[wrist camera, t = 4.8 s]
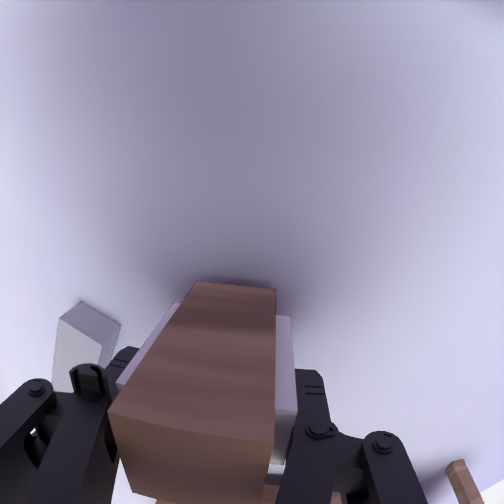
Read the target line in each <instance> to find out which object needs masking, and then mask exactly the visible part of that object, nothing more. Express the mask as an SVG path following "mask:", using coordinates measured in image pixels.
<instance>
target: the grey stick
mask: <svg viewBox="0 0 504 504" xmlns="http://www.w3.org/2000/svg"><path fill="white" fill-rule="evenodd" d="M120 327H121V325H120V324H118V323H117V322H115V321H113V320H111V319H110V318H108V317H106V316H105V315H103V314H101V313H100V312H98V311H96V310H95V309H93V308H92V307H90V306H88V305H87V304H85V303H83V302H82V301H81V302H80V303H78V304H77V305H76V306H74V307H73V308H72V309H70V310H69V311H68V312H66V313H65V314H64V315H62V316H61V317H60V318H59V322H58V329H57V336H56V344H55V352H54V362H53V373H52V386H53V388H54V391H57V392H68V393H73V392H74V390H73V386H72V383H71V379H70V375H69V371H70V370H71V369H72V368H73V367H75V366H77V365H80V364H84V363H93V364H96V365H99V366H101V367H102V368H104V369H105V368H106V367H107V365H109V363H110V362H111V358H112V355H113V351H114V348H115V344H116V341H117V337H118V334H119V331H120Z"/></svg>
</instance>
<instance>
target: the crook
mask: <svg viewBox="0 0 504 504" xmlns="http://www.w3.org/2000/svg"><path fill="white" fill-rule="evenodd" d="M275 363H276V289H270V288H260V287H251V286H241V285H232V284H223V283H215V282H206V281H198V280H197V281H196V283H195V284H194V286H193V287H192V288H191V290H190V291H189V293H188V294H187V295H186V297H185V298H184V300H183V301H182V303H181V304H180V305H179V307H178V308H177V310H176V311H175V312H174V314H173V315H172V317H171V318H170V320H169V321H168V322H167V324H166V325H165V327H164V328H163V330H162V331H161V333H160V334H159V335H158V337H157V338H156V340H155V341H154V343H153V344H152V346H151V347H150V348H149V350H148V351H147V353H146V354H145V356H144V357H143V359H142V360H141V362H140V363H139V365H138V366H137V367H136V369H135V370H134V372H133V373H132V375H131V376H130V378H129V379H128V381H127V382H126V384H125V385H124V387H123V388H122V390H121V391H120V393H119V394H118V396H117V397H116V399H115V400H114V402H113V403H112V405H111V406H110V408H109V409H108V411H107V413H108V417H109V420H110V424H111V428H112V431H113V435H114V438H115V442H116V445H117V449H118V452H119V455H120V458H121V461H122V464H123V467H124V470H125V473H126V476H127V479H128V482H129V484H130V487H131V490H132V492H133V493H137V494H140V495H144V496H147V497H151V498H155V499H159V500H163V501H167V502H171V503H176V504H274V503H275V500H276V497H277V494H278V490H279V487H280V485H266V484H265V480H266V476H267V471H268V467H269V463H270V458H271V454H272V449H273V445H274V423H275ZM331 504H342V501H341V496H340V493H339V492H334V491H332V497H331Z"/></svg>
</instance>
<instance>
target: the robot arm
mask: <svg viewBox="0 0 504 504" xmlns="http://www.w3.org/2000/svg"><path fill="white" fill-rule="evenodd" d="M180 304H181V303H174V304H173V305H172V306H171V307H170V309H169V310H168V311H167V313H166V314H165V315H164V317H163V318H162V319H161V321H160V322H159V323H158V325H157V326H156V328H155V329H154V330H153V332H152V333H151V334H150V336H149V337H148V338H147V340H146V341H145V342H144V344H143V345H142V346H141V348H136V347H131V346H128V347H126V348H124V349H122V350H120V351H119V352H118V353H117V354H116V356H115V357H114V358H113V359H112V360H111V362H110V363H109V365H107V367H106V368H105V369H104V368H102V367H101V366H99V365H96V364H93V363H84V364H80V365H77V366H75V367H73V368H72V369H71V370H70V371H69V375H70V379H71V383H72V386H73V390H74V392H73V393H68V392H57V391H54V388H53V386H52V384H51V383H50V382H49V381H48V380H45V379H41V378H37V379H31V380H28V381H27V382H25V383H24V384H23V385H21V386H20V387H19V388H18V389H17V390H16V391H15V392H14V393H13V394H11V395H10V396H9V397H8V398H7V399H6V400H5V401H4V402H3V403H2V404H0V504H111V499H112V494H113V489H114V484H115V478H116V474H117V469H118V464H119V459H120V455H119V452H118V449H117V445H116V442H115V438H114V435H113V431H112V428H111V424H110V420H109V417H108V413H107V411H108V409H109V408H110V406H111V405H112V403H113V402H114V400H115V399H116V397H117V396H118V394H119V393H120V391H121V390H122V388H123V387H124V385H125V384H126V382H127V381H128V379H129V378H130V376H131V375H132V373H133V372H134V370H135V369H136V367H137V366H138V365H139V363H140V362H141V360H142V359H143V357H144V356H145V354H146V353H147V351H148V350H149V348H150V347H151V346H152V344H153V343H154V341H155V340H156V338H157V337H158V335H159V334H160V333H161V331H162V330H163V328H164V327H165V325H166V324H167V322H168V321H169V320H170V318H171V317H172V315H173V314H174V312H175V311H176V310H177V308H178V307H179V305H180ZM325 394H326V393H325V388H324V383H323V378H322V377H321V376H320V374H319V373H318V372H317V371H316V370H306V369H295V368H294V356H293V344H292V333H291V322H290V316H284V315H276V363H275V423H274V445H273V449H272V454H271V458H270V463H269V464H279V465H284V462H285V458H286V467H285V470H284V474H283V477H282V480H281V483H280V487H279V490H278V494H277V497H276V500H275V503H274V504H331V497H332V491H334V492H339V493H340V496H341V501H342V504H428V503H427V500H426V498H425V495H424V493H423V490H422V488H421V485H420V483H419V481H418V478H417V476H416V473H415V471H414V469H413V466H412V464H411V462H410V459H409V457H408V455H407V452H406V450H405V448H404V446H403V443H402V442H401V440H400V439H399V438H398V437H397V436H395V435H394V434H392V433H389V432H386V431H376V432H371V433H370V434H368V435H367V436H366V437H365V439H360V438H355V437H351V436H347V435H344V434H343V433H341V432H339V431H338V428H337V427H336V426H335V424H334V423H332V422H331V419H330V414H329V409H328V403H327V398H326V395H325ZM34 428H35V430H36V431H35V432H34V433H32V434H30V432H31V431H32V430H33V429H34Z"/></svg>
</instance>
